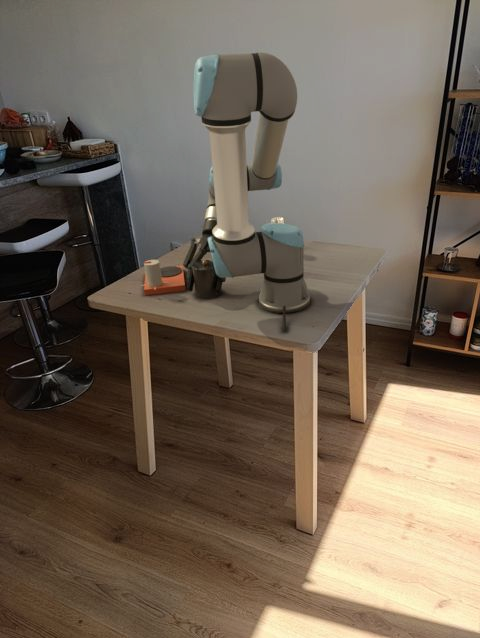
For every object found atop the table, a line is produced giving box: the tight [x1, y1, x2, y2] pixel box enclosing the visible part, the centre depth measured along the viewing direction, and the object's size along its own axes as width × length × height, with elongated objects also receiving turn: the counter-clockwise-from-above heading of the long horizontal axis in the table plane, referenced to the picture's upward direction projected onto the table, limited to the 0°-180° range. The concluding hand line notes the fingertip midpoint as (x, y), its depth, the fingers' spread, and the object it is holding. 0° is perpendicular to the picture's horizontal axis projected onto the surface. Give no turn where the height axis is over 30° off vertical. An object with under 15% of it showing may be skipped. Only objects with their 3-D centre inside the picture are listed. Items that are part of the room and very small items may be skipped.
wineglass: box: [270, 216, 286, 224], centre depth 182 cm, size 6×6×12 cm
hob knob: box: [143, 259, 163, 287], centre depth 154 cm, size 5×5×8 cm
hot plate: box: [141, 264, 187, 296], centre depth 162 cm, size 19×14×2 cm
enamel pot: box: [191, 259, 222, 300], centre depth 150 cm, size 8×8×11 cm
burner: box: [160, 265, 182, 277], centre depth 165 cm, size 9×9×1 cm
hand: (203, 290), depth 149 cm, fingers open, 9 cm apart
